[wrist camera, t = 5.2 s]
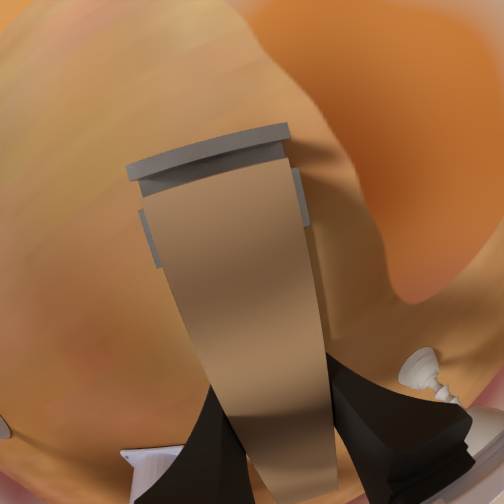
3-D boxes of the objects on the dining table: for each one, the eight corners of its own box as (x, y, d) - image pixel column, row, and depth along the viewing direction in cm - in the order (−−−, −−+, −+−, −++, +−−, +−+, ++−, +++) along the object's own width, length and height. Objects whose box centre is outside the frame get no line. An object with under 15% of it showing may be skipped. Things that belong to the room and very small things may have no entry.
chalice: (415, 394, 26) (498, 494, 9) (378, 391, 25) (469, 518, 7) (449, 342, 25) (553, 433, 8) (417, 331, 23) (542, 446, 6)
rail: (314, 433, 16) (338, 489, 11) (264, 448, 16) (279, 507, 11) (255, 164, 11) (287, 157, 6) (170, 187, 11) (140, 198, 6)
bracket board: (325, 383, 23) (344, 417, 19) (228, 412, 22) (232, 450, 18) (275, 130, 17) (295, 116, 13) (138, 167, 16) (115, 165, 12)
